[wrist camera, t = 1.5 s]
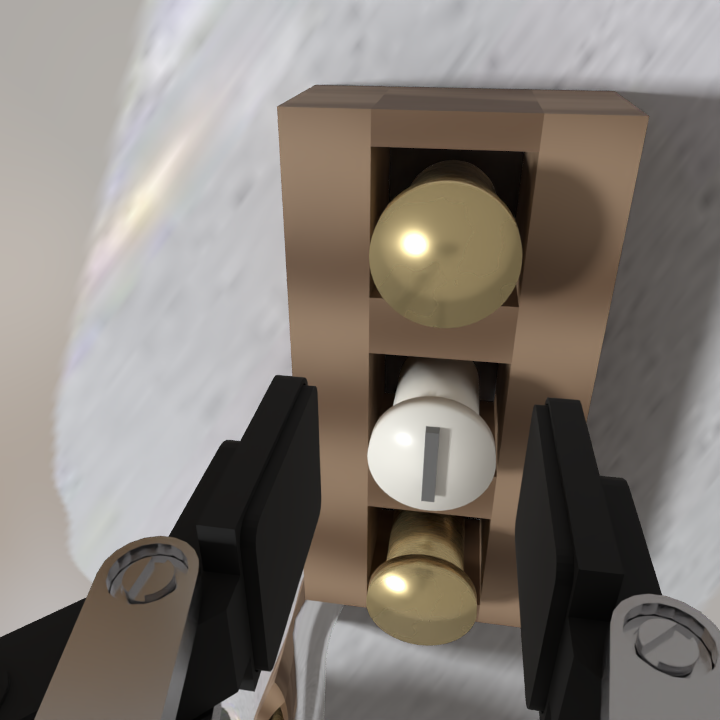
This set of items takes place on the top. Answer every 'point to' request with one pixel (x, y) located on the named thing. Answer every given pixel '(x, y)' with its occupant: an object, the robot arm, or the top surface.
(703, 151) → the top surface
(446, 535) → the brass knob
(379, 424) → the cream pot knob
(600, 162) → the block
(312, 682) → the beer glass
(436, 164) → the brass knob
